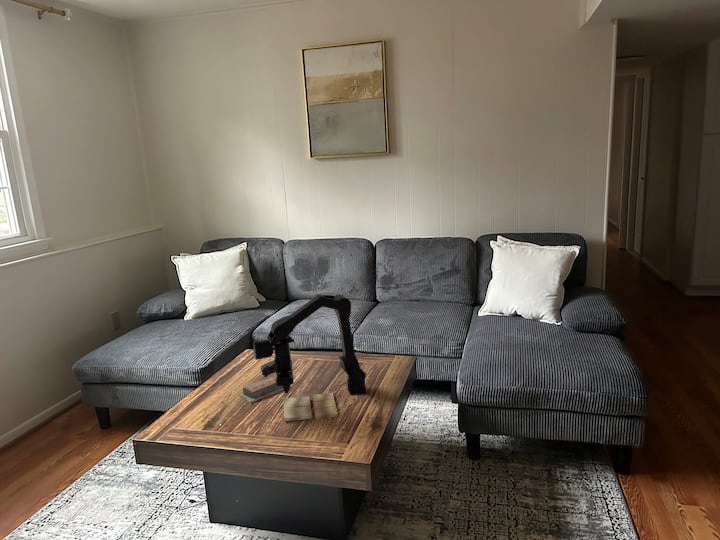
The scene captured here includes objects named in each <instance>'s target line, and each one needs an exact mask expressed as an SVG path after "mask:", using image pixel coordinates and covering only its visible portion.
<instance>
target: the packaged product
mask: <svg viewBox="0 0 720 540" xmlns="http://www.w3.org/2000/svg"><path fill="white" fill-rule="evenodd" d="M276 377H277V374H275V375H272V376H269V377H266V378H264V379H262V380H261V379H260V380H259V381H256V382H254V383H251V384H248V385H245V386H243V387H242V391H241V392H238V396H239V397H240V398H241V399H242V400H244V401H245V402H248V403H249V404H253V403H256V402H258V401H259V400H263V399H265V398H268V397H270V396H273V395H275V394H277V393H278V394H279V393H280V392H282V391H283V392H284V389H283V386H277V385H276Z"/></svg>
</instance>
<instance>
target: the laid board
mask: <svg viewBox="0 0 720 540" xmlns="http://www.w3.org/2000/svg"><path fill="white" fill-rule="evenodd" d="M311 397H312V404H313V410H314V415H315V420H322V419H329V418H337V417H339V413H338V409H337V405H336V401H335V397H334V394H333V392H325V393H317V394H312V395H311Z"/></svg>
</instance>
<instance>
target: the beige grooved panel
mask: <svg viewBox="0 0 720 540" xmlns="http://www.w3.org/2000/svg"><path fill="white" fill-rule="evenodd" d="M282 403H283V421H284V422H292V421H300V420H301V421H302V420H312V419H313V411H312V408H311V407H312V406H311V400H310V396H301V397H300V396H299V397H289V398H288V397H287V398H283V401H282Z"/></svg>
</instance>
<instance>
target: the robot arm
mask: <svg viewBox="0 0 720 540" xmlns="http://www.w3.org/2000/svg"><path fill="white" fill-rule="evenodd" d="M321 308H328V309H332V310H333V311H334V313H335V315H336V318H337V321H338V327H339V334H340V341H341V347H342V353H341V354H342V355H341V356H338V360H339V366H340V368H341V369H342V370H343V371H344V373H346V375H347V379H346V385H347V386H346V387H347V391H348V392H349V395H359V394H360V395H361V394H366V393H367V389H366V377H367V373H366V372H365V371H364V370H363V368H361V366H360V363H359V359H358V358H357V356H356V354H355V349H354V342H353V335H352V329H351V321H350V320H351V319H350V317H351V314H352V313H351V312H352V303H351V300H350V299H349V298H347V297H346V296H344V295H343V294H335V295H333V294H332V295H331V294H329V295H328V294H316V295H315V296H314V297H313V298H312V299H310V300H308V302H306V303H305V304H303V305H302V306H301V307H299V308H298V309H297V310H295V311H294V312H292V313H291V314H290V315H288V316H285V317H284V316H283V317H282V318H280V319H277V320H275V321H273V322H272V324H271V327H270V331H269V333H268V335H267V336H266V339H262V340H254V341H253V350H252V351H253V355H254V360H263V359H268V358H271V357H272V356H273V354H274V359H273V360H271V361H268V362H266V363H264V364H263V365H261V366H260V371H261V375H262V376H263V377H264V378H268V376H270V375H272V374H274V373H275V375H277V377H276V385H277V386H283V389H284V390H283V392H284V394H288V393H289V392H290V388H291V386H292V385H293V384H294V383H295V381H294V373H293V361H292V358H291V350H290V349H291V348H290V344H291V343H295V340H294V338H293V337H292V336H290V335H291V334H292V332H293V331H294V330H295V328H296V327H297V326H298V325H299V324H301V323H302V322H303V321H304V320H306V319H308V317H310V316H311V315H312V314H314V313H316V312H317V311H318V310H320V309H321Z"/></svg>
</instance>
